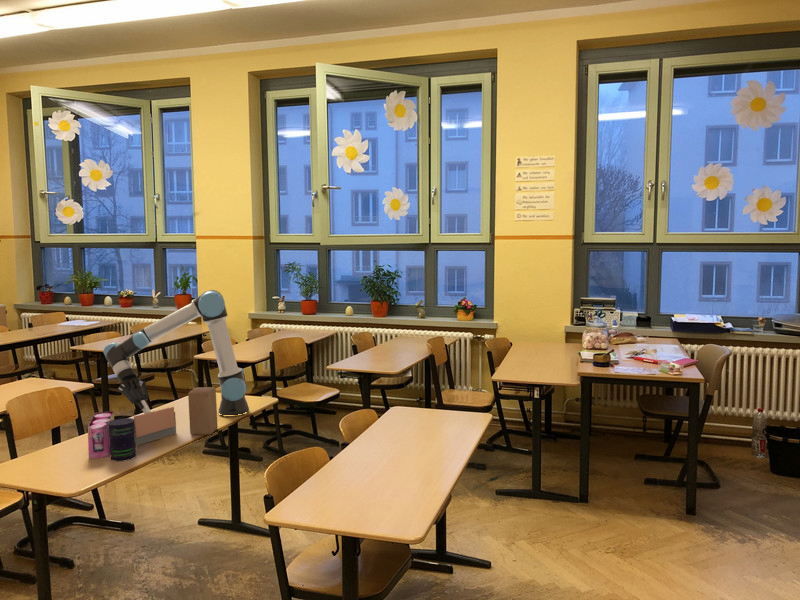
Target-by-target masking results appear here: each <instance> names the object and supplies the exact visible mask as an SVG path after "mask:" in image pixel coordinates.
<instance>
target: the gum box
mask: <svg viewBox="0 0 800 600" xmlns="http://www.w3.org/2000/svg"><path fill="white" fill-rule="evenodd" d="M112 420H115V411H113V410H111V411H101V412H99V411H98V412H95V413H94V414H93V416H92V418H91V420H90V422H88V424H87V439H88V440H87V444H88V446H87V448H88V459H100V458H107V457H108V458H109V457H110V437H109V431H108V429H109V425H108V423H109V422H110V421H112Z"/></svg>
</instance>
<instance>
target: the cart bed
mask: <svg viewBox="0 0 800 600" xmlns="http://www.w3.org/2000/svg"><path fill="white" fill-rule="evenodd" d="M174 418H175V426H174V427H171V428H167V429H164V430H160V431H157V432H154V433H150V434H147V435H143V436H140V437H137V438H136V437H135V442H136V447H137V446H140V445H143V444H146V443H149V442H153V441H157V440H159V439H163V438H166V437H169V435H170V436H172V434H173V435H175V433H176V434H177V420H176V411H174ZM134 436H135V434H134Z"/></svg>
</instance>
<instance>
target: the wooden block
mask: <svg viewBox="0 0 800 600" xmlns="http://www.w3.org/2000/svg"><path fill="white" fill-rule="evenodd" d="M187 395H188V397H187V399H188V416H189V418H188V419H189V433H190V435H192V436H194V435H193V434H198V435H199V434H201V436H202V435H203V436H205V435H206V436H207V435H212V434H213V433H214V432H216V430H218V407H217V388H216V387H213V386H212V387H211V386H208V387H200V386H199V387H194V388H193V389H191V390H190V391H189V392H188V394H187ZM215 429H216V430H215ZM198 435H197V436H198ZM199 436H200V435H199Z"/></svg>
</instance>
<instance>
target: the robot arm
mask: <svg viewBox="0 0 800 600" xmlns="http://www.w3.org/2000/svg"><path fill="white" fill-rule="evenodd" d="M225 304H226V301H225V299H224V297H223V295H222V294H221V292H220V291H218V290H214V289H208V290H206V291H204V292H202V294H200V295H199V296H198V297H196V298H194V299H192V300H191V302H190V303H189V304H187V305H185V306H183V307H181V308H179V309H178V310H176V311H174V312H172V313H170V314H169V315H166V316H165V317H162V318H161V319H159V320H157V321H154V322H153V323H151V324H150V325H147V326H145V327H144V328H142V329H140V330H137V331H135V332H133V333H131V335H130V336H129V337H128V338H127V339H125V340H124V341H122V342H121V343H117V342H111V343H109V344H107V345H106V346H105V347H103V348H104V349H103V351H102V352H103V354H104V357H105V359H106V361H107V362H108V364H109V365H110V367H111V369H112V371H113V372H114V374H115V376H116V378H117V380H118V381H119V383H120V385H119V386H118V389H117V390H118V392H120V393H122V394H123V395H124V396H125V398H126V399H127V400H128V401H129V402H130V403H131V404H132V405H134V404H135V405H136V406H138V408H139V409H140V410H142V412H143V414H146V413H149V412H152V411H151V409H150V407H149V406H150V405H149V403H148V399H149V398H150V396H149V392H148V388H147V386H146V383H147V381H146V380H141V379H140V378H138V377H137V374H136V372H135V370H134V368H133V366H132V365H131V363H130V362H129V360H128V359H129V358H130V357H132V356H134V355H135V354H137V353H139V352H140V351H142V350H143V349H144V350H145V348H146V347H147V346H149V345H150V343H152V342H154V341H155V340H157V339H160V338H161V337H163V336H165V335H167V334H168V333H171V332H173V331H175V330H176V329H178V328H180V327H182V326H185V325H186V324H188V323H189V322H191V321H193V320H195V319H197V318H202V321H203V323H205V324H206V325H207V329H208V331H209V336H210V340H211V342H212V346H213V347H212V348H213V351H214V355H215V358H216V362H217V365H218V370H219V372H218V374H217V379H218V382H219V387H220V395H221V397H220V398H221V401H220V404H219V408H218V409H217V413H218V414H219V413H220V414H222V415H238V414H243V413H245V412H248V411H249V412H250V407H249V405H248V402H247V399H246V392H247V384H246V381H245V369H244V368H241V367H238V364H237V363H238V362H237V359H236V356H235V352H234V349H233V348H234V347H233V344H232V340H231V337H230V332H229V328H228V325H227V318H228V317H229V315H228V311H227V308H226V305H225Z"/></svg>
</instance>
